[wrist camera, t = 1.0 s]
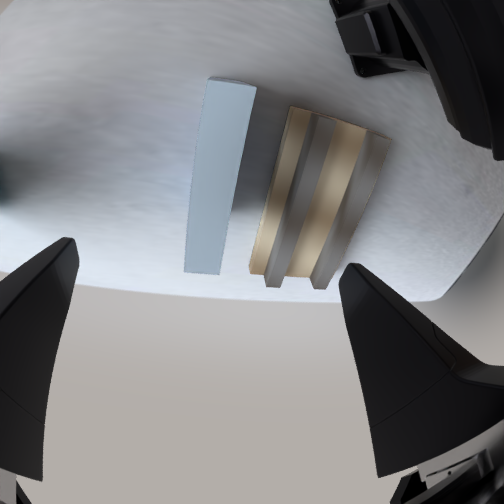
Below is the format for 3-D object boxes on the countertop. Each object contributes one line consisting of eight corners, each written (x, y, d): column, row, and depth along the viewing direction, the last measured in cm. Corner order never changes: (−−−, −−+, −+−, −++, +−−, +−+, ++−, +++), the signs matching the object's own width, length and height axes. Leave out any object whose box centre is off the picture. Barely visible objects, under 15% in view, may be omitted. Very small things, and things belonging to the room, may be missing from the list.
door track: (290, 105, 16) (301, 111, 14) (384, 135, 18) (402, 145, 16) (248, 266, 24) (252, 286, 22) (328, 271, 26) (336, 289, 24)
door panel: (210, 77, 14) (207, 79, 9) (241, 81, 15) (256, 87, 9) (190, 210, 20) (183, 272, 15) (216, 212, 21) (219, 275, 15)
